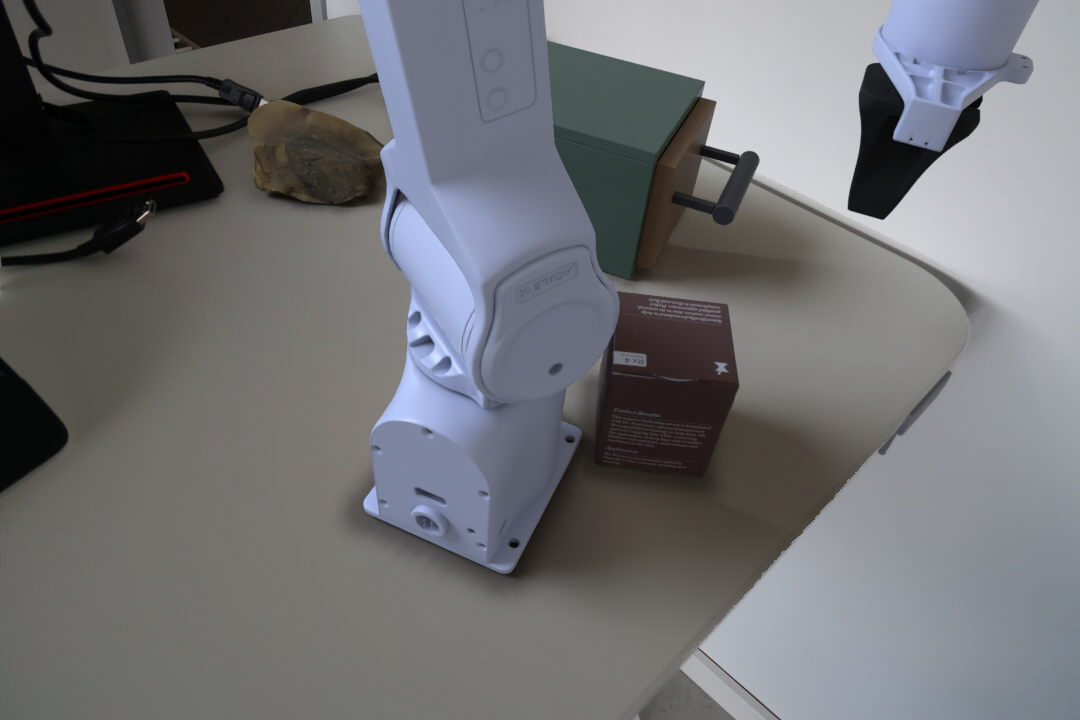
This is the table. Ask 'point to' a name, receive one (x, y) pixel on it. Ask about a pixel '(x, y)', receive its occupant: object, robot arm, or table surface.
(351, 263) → the table surface
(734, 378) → the box
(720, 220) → the drawer
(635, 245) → the cabinet
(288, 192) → the decorative stone
